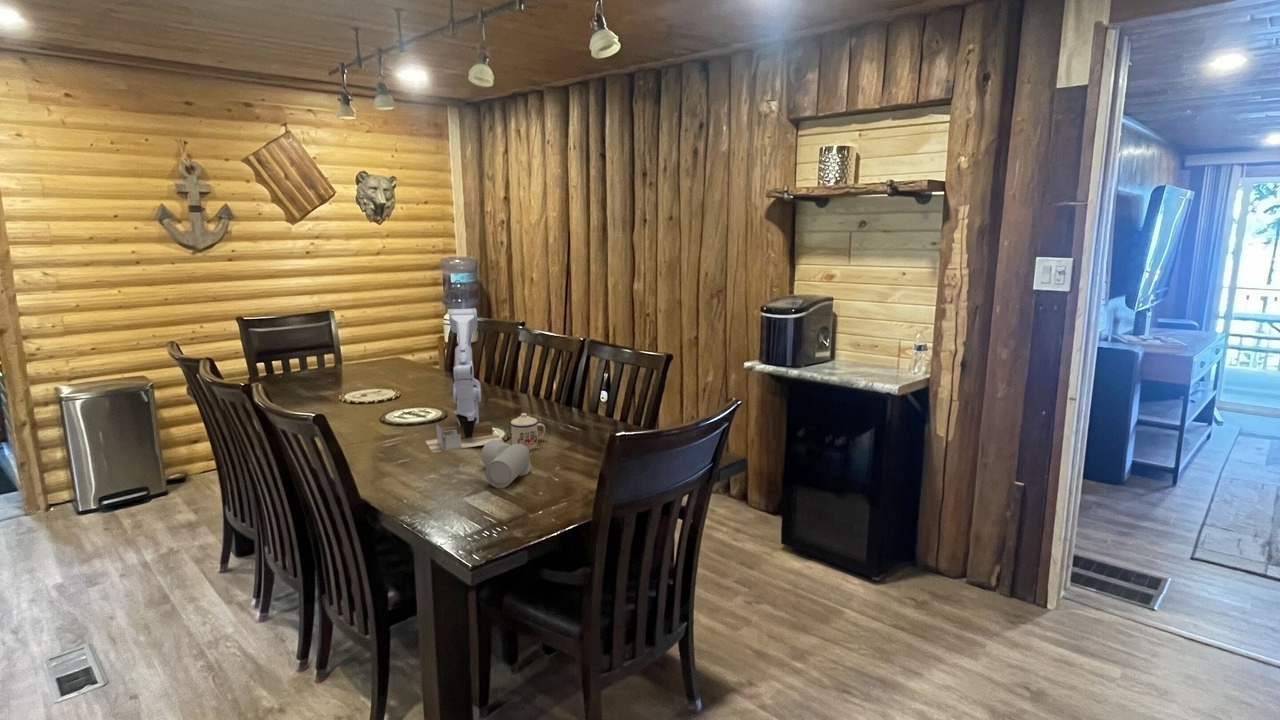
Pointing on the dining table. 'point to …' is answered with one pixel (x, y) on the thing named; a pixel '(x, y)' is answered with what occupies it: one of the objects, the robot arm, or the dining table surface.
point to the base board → (465, 442)
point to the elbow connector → (504, 462)
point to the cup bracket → (448, 439)
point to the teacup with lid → (525, 431)
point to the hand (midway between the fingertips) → (467, 435)
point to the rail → (478, 430)
